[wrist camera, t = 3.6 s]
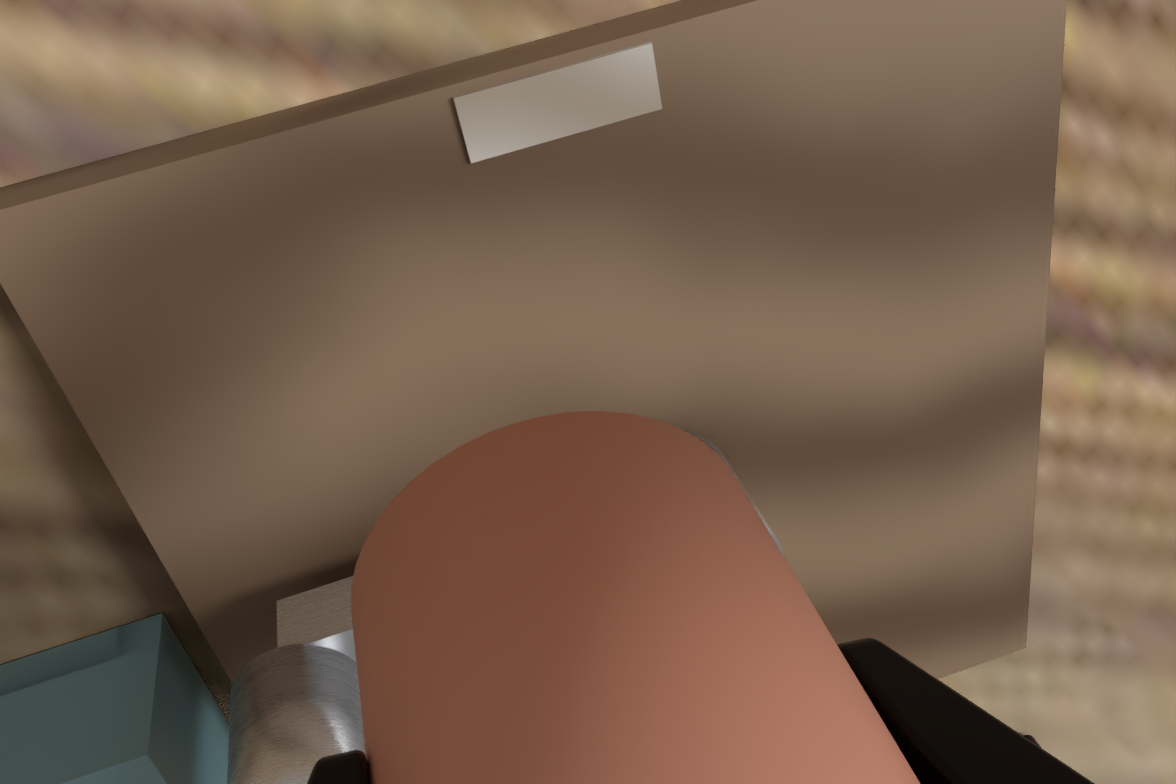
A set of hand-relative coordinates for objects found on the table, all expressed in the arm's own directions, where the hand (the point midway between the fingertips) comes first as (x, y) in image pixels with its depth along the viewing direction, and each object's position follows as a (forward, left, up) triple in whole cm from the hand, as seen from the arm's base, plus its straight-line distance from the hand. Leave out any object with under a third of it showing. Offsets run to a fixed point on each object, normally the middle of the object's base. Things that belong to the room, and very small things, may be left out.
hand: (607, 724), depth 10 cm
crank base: (-8, -3, -13) cm, 15 cm away
